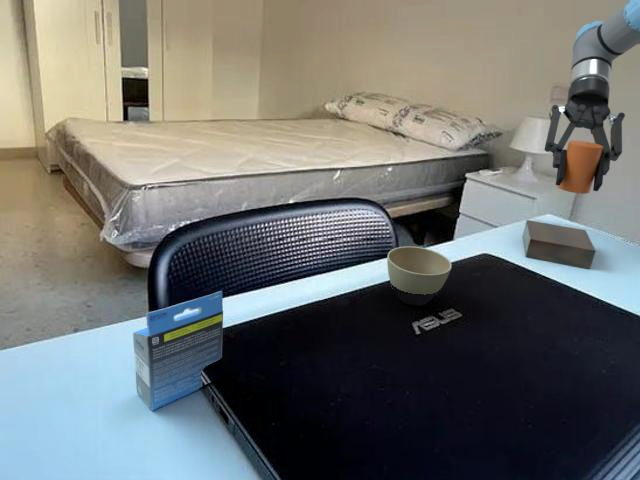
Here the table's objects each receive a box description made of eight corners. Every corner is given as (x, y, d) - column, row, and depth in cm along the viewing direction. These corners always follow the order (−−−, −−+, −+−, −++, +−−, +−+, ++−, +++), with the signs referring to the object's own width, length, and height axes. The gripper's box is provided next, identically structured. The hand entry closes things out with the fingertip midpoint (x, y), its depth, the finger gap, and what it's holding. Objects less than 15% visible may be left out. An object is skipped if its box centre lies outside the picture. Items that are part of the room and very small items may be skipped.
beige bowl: (369, 296, 81) (374, 256, 78) (404, 278, 87) (410, 241, 85) (421, 323, 74) (430, 280, 72) (454, 301, 81) (463, 262, 79)
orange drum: (586, 187, 101) (600, 143, 97) (592, 195, 95) (606, 149, 92) (555, 182, 102) (567, 139, 99) (558, 190, 97) (571, 144, 93)
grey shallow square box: (580, 247, 109) (585, 230, 107) (589, 269, 98) (595, 250, 96) (522, 236, 112) (526, 219, 110) (525, 256, 101) (530, 238, 99)
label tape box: (205, 364, 61) (204, 275, 57) (223, 381, 59) (224, 290, 54) (136, 393, 56) (128, 298, 51) (152, 414, 53) (146, 315, 48)
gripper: (632, 106, 104) (625, 202, 96) (536, 95, 109) (521, 186, 101) (648, 81, 97) (642, 182, 89) (544, 71, 102) (530, 166, 94)
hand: (578, 184), depth 95 cm, fingers closed on orange drum, 6 cm apart
